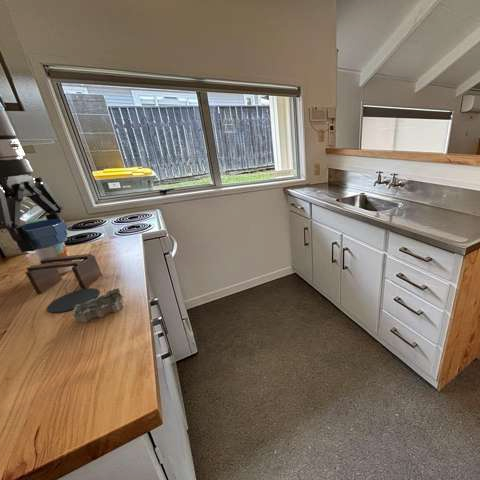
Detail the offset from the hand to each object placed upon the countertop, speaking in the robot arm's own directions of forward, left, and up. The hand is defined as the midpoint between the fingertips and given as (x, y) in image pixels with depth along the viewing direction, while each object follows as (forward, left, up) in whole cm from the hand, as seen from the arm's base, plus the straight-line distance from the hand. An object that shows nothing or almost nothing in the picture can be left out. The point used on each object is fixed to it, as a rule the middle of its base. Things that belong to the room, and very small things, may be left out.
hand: (46, 242), depth 71 cm
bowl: (0, 0, 0) cm, 0 cm away
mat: (0, 0, -19) cm, 19 cm away
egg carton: (+12, -8, -19) cm, 24 cm away
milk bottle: (-19, +23, -19) cm, 36 cm away
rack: (-8, +11, -19) cm, 23 cm away
